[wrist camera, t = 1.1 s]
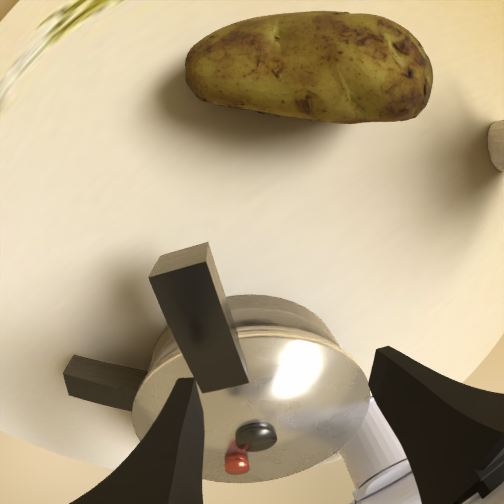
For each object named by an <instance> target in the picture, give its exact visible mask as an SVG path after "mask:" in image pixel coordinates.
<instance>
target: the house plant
mask: <svg viewBox="0 0 504 504" xmlns="http://www.w3.org/2000/svg"><path fill="white" fill-rule="evenodd" d="M487 142H488V151H489V156H490V158H491V161H492V163H493V165H494V166H495V168H496V169H497V170H499V171H501V172H504V120H502V121H497V122H494V123H492V125H491V126H490V128H489V131H488V141H487Z"/></svg>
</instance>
